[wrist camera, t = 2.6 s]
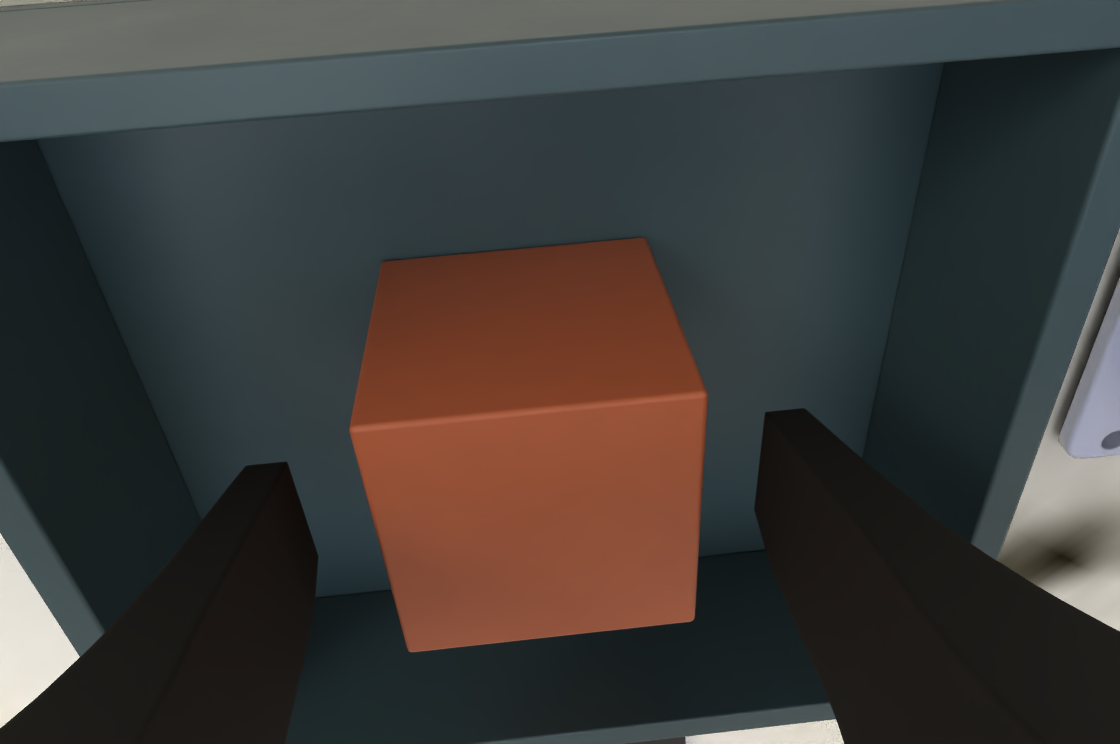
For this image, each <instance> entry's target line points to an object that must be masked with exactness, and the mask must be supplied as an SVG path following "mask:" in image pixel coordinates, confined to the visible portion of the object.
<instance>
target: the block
mask: <svg viewBox="0 0 1120 744" xmlns="http://www.w3.org/2000/svg"><path fill="white" fill-rule="evenodd" d="M707 404H708V393H707V390H706V388H705V385H704V383H703V380H702V378H701V375H700V373H699V370H698V368H697V365H696V362H695V360H694V357H693V355H692V352H691V350H690V347H689V345H688V342H687V340H686V337H685V335H684V332H683V330H682V327H681V325H680V322H679V319H678V317H677V314H676V312H675V309H674V307H673V304H672V302H671V299H670V297H669V294H668V292H667V289H666V287H665V284H664V282H663V279H662V276H661V274H660V271H659V269H658V266H657V264H656V261H655V259H654V256H653V254H652V251H651V249H650V246H649V244H648V241H647V239H646V238H632V239H621V240H610V241H599V242H588V243H577V244H567V245H556V246H545V247H534V248H523V249H512V250H501V251H490V252H479V253H468V254H458V255H447V256H436V257H425V258H414V259H403V260H392V261H384V262H382V263H381V267H380V272H379V277H378V282H377V288H376V293H375V298H374V303H373V308H372V314H371V319H370V324H369V329H368V334H367V340H366V345H365V350H364V355H363V360H362V365H361V371H360V376H359V381H358V386H357V391H356V397H355V402H354V407H353V412H352V417H351V422H350V428H349V432H350V436H351V439H352V443H353V447H354V451H355V454H356V458H357V462H358V466H359V469H360V473H361V477H362V481H363V485H364V488H365V492H366V496H367V500H368V503H369V507H370V511H371V515H372V518H373V522H374V526H375V530H376V533H377V537H378V541H379V545H380V549H381V552H382V556H383V560H384V564H385V567H386V571H387V575H388V579H389V582H390V586H391V590H392V594H393V597H394V601H395V605H396V609H397V613H398V616H399V620H400V624H401V628H402V631H403V635H404V639H405V643H406V646H407V649H408V651H409V652H420V651H429V650H438V649H447V648H456V647H465V646H474V645H483V644H492V643H501V642H511V641H520V640H529V639H538V638H547V637H556V636H565V635H574V634H583V633H592V632H601V631H610V630H619V629H628V628H637V627H646V626H655V625H664V624H674V623H683V622H691V621H693V620H694V618H695V607H696V590H697V573H698V556H699V539H700V523H701V506H702V489H703V472H704V455H705V438H706V421H707Z"/></svg>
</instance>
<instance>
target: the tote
mask: <svg viewBox="0 0 1120 744" xmlns="http://www.w3.org/2000/svg"><path fill="white" fill-rule="evenodd" d="M1119 228H1120V0H85V1H72V2H59V3H46V4H33V5H21V6H8V7H0V533H1V535H2V536H3V538H4V539H5V541H6V543H7V544H8V546H9V547H10V549H11V550H12V552H13V553H14V555H15V557H16V558H17V560H18V561H19V563H20V564H21V566H22V567H23V569H24V571H25V572H26V574H27V575H28V577H29V578H30V580H31V581H32V583H33V585H34V586H35V588H36V589H37V591H38V592H39V594H40V595H41V597H42V599H43V600H44V602H45V603H46V605H47V606H48V608H49V609H50V611H51V613H52V614H53V616H54V617H55V619H56V620H57V622H58V623H59V625H60V627H61V628H62V630H63V631H64V633H65V634H66V636H67V637H68V639H69V641H70V642H71V644H72V645H73V647H74V648H75V650H76V651H77V653H78V655H79V656H80V657H81V656H82V655H83V654H84V653H85V652H86V651H87V650H88V649H89V648H90V647H91V646H92V645H93V644H94V643H95V642H96V641H97V640H98V639H99V638H100V637H101V636H102V635H103V634H104V633H105V632H106V631H107V630H108V629H109V628H110V626H111V625H112V624H113V623H114V622H115V621H116V620H117V619H118V618H119V617H120V615H121V614H122V613H123V612H124V611H125V610H126V609H127V608H128V607H129V606H130V604H131V603H132V602H133V601H134V600H135V599H136V598H137V597H138V596H139V595H140V593H141V592H142V591H143V590H144V589H145V588H146V587H147V586H148V585H149V583H150V582H151V581H152V580H153V579H154V578H155V577H156V575H157V574H158V573H159V572H160V571H161V569H162V568H163V567H164V566H165V565H166V563H167V562H168V561H169V560H170V559H171V557H172V556H173V555H174V554H175V553H176V551H177V550H178V549H179V548H180V547H181V545H182V544H183V543H184V542H185V541H186V539H187V538H188V537H189V536H190V534H191V533H192V532H193V531H194V529H195V528H196V527H197V526H198V524H199V523H200V522H201V521H202V519H203V518H204V517H205V516H206V514H207V513H208V512H209V511H210V509H211V508H212V507H213V505H214V504H215V503H216V502H217V500H218V499H219V498H220V497H221V495H222V494H223V493H224V492H225V490H226V489H227V488H228V487H229V485H230V484H231V483H232V482H233V480H234V479H235V478H236V477H237V476H238V474H239V473H240V472H241V471H242V470H243V468H244V467H245V466H247V465H256V464H266V463H276V462H285V461H287V462H288V465H289V468H290V472H291V475H292V478H293V481H294V484H295V487H296V490H297V493H298V496H299V499H300V502H301V505H302V508H303V511H304V514H305V517H306V520H307V523H308V526H309V529H310V532H311V535H312V538H313V541H314V544H315V547H316V550H317V553H318V556H319V558H318V570H317V582H316V594H315V603H314V613H313V621H312V625H311V630H310V635H309V639H308V644H307V648H306V653H305V657H304V662H303V667H302V671H301V675H300V680H299V684H298V688H297V693H296V697H295V702H294V706H293V710H292V715H291V719H290V723H289V728H288V732H287V737H286V741H285V744H625V743H633V742H642V741H650V740H659V739H668V738H676V737H685V736H694V735H702V734H711V733H719V732H728V731H737V730H745V729H754V728H763V727H771V726H780V725H789V724H797V723H806V722H814V721H823V720H832V719H836V718H835V715H834V713H833V710H832V708H831V705H830V702H829V700H828V697H827V695H826V693H825V690H824V688H823V686H822V684H821V681H820V679H819V677H818V674H817V672H816V670H815V668H814V665H813V663H812V661H811V659H810V656H809V654H808V652H807V649H806V647H805V645H804V643H803V640H802V638H801V636H800V634H799V631H798V629H797V627H796V624H795V622H794V620H793V618H792V615H791V613H790V611H789V608H788V606H787V604H786V601H785V599H784V597H783V595H782V592H781V590H780V588H779V585H778V583H777V581H776V578H775V576H774V573H773V571H772V569H771V566H770V562H769V559H768V556H767V552H766V549H765V546H764V543H763V539H762V536H761V532H760V528H759V525H758V521H757V518H756V514H755V511H754V506H755V497H756V488H757V479H758V470H759V461H760V452H761V443H762V434H763V425H764V416H765V412H770V411H780V410H790V409H800V408H805V409H806V410H807V411H809V412H810V413H811V414H812V415H813V416H814V417H815V418H817V419H818V420H819V421H820V422H821V423H822V424H823V425H825V426H826V427H827V428H828V429H829V430H830V431H831V432H832V433H834V434H835V435H836V436H837V437H838V438H839V439H840V440H842V441H843V442H844V443H845V444H846V445H847V446H848V447H849V448H851V449H852V450H853V451H854V452H855V453H856V454H858V455H859V456H860V457H861V458H862V459H863V460H864V461H866V462H867V463H868V464H869V465H870V466H871V467H873V468H874V469H875V470H876V471H877V472H878V473H880V474H881V475H882V476H883V477H884V478H886V479H887V480H888V481H889V482H891V483H892V484H893V485H894V486H895V487H897V488H898V489H899V490H900V491H902V492H903V493H904V494H905V495H906V496H908V497H909V498H910V499H912V500H913V501H914V502H915V503H917V504H918V505H919V506H921V507H922V508H923V509H924V510H926V511H927V512H928V513H930V514H931V515H932V516H934V517H935V518H936V519H938V520H939V521H940V522H942V523H943V524H945V525H946V526H947V527H949V528H950V529H951V530H953V531H954V532H956V533H957V534H958V535H960V536H961V537H962V538H964V539H965V540H967V541H968V542H969V543H971V544H972V545H974V546H975V547H977V548H978V549H980V550H981V551H983V552H984V553H986V554H987V555H989V556H990V557H992V558H993V559H995V560H996V561H997V560H998V557H999V554H1000V552H1001V549H1002V546H1003V543H1004V541H1005V538H1006V535H1007V533H1008V530H1009V527H1010V524H1011V522H1012V519H1013V516H1014V514H1015V511H1016V508H1017V505H1018V503H1019V500H1020V497H1021V495H1022V492H1023V489H1024V486H1025V484H1026V481H1027V478H1028V475H1029V473H1030V470H1031V467H1032V465H1033V462H1034V459H1035V456H1036V454H1037V451H1038V448H1039V446H1040V443H1041V440H1042V437H1043V435H1044V432H1045V429H1046V427H1047V424H1048V421H1049V418H1050V416H1051V413H1052V410H1053V408H1054V405H1055V402H1056V399H1057V397H1058V394H1059V391H1060V388H1061V386H1062V383H1063V380H1064V378H1065V375H1066V372H1067V369H1068V367H1069V364H1070V361H1071V359H1072V356H1073V353H1074V350H1075V348H1076V345H1077V342H1078V340H1079V337H1080V334H1081V331H1082V329H1083V326H1084V323H1085V321H1086V318H1087V315H1088V312H1089V310H1090V307H1091V304H1092V301H1093V299H1094V296H1095V293H1096V291H1097V288H1098V285H1099V282H1100V280H1101V277H1102V274H1103V272H1104V269H1105V266H1106V263H1107V261H1108V258H1109V255H1110V253H1111V250H1112V247H1113V244H1114V242H1115V239H1116V236H1117V234H1118V231H1119ZM632 238H646V239H647V241H648V244H649V246H650V249H651V251H652V254H653V256H654V259H655V261H656V264H657V266H658V269H659V271H660V274H661V276H662V279H663V282H664V284H665V287H666V289H667V292H668V294H669V297H670V299H671V302H672V304H673V307H674V309H675V312H676V314H677V317H678V319H679V322H680V325H681V327H682V330H683V332H684V335H685V337H686V340H687V342H688V345H689V347H690V350H691V352H692V355H693V357H694V360H695V362H696V365H697V368H698V370H699V373H700V375H701V378H702V380H703V383H704V385H705V388H706V390H707V393H708V404H707V421H706V438H705V455H704V472H703V489H702V506H701V523H700V539H699V556H698V573H697V590H696V607H695V618H694V620H693V621H691V622H683V623H674V624H664V625H655V626H646V627H637V628H628V629H619V630H610V631H601V632H592V633H583V634H574V635H565V636H556V637H547V638H538V639H529V640H520V641H511V642H501V643H492V644H483V645H474V646H465V647H456V648H447V649H438V650H429V651H420V652H409V651H408V649H407V646H406V643H405V639H404V635H403V631H402V628H401V624H400V620H399V616H398V613H397V609H396V605H395V601H394V597H393V594H392V590H391V586H390V582H389V579H388V575H387V571H386V567H385V564H384V560H383V556H382V552H381V549H380V545H379V541H378V537H377V533H376V530H375V526H374V522H373V518H372V515H371V511H370V507H369V503H368V500H367V496H366V492H365V488H364V485H363V481H362V477H361V473H360V469H359V466H358V462H357V458H356V454H355V451H354V447H353V443H352V439H351V436H350V432H349V428H350V422H351V417H352V412H353V407H354V402H355V397H356V391H357V386H358V381H359V376H360V371H361V365H362V360H363V355H364V350H365V345H366V340H367V334H368V329H369V324H370V319H371V314H372V308H373V303H374V298H375V293H376V288H377V282H378V277H379V272H380V267H381V263H382V262H384V261H392V260H403V259H414V258H425V257H436V256H447V255H458V254H468V253H479V252H490V251H501V250H512V249H523V248H534V247H545V246H556V245H567V244H577V243H588V242H599V241H610V240H621V239H632Z"/></svg>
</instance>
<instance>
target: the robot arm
mask: <svg viewBox="0 0 1120 744" xmlns="http://www.w3.org/2000/svg"><path fill="white" fill-rule="evenodd" d="M1059 443H1060V445H1061V446H1062V448H1063V449H1064V450H1065V451H1066V452H1067V453H1068V454H1069V455H1070V456H1072V457H1074V458H1092V457H1102V456H1112V455H1120V278H1119V281H1118V283H1117V286H1116V289H1115V291H1114V294H1113V296H1112V299H1111V302H1110V304H1109V307H1108V309H1107V312H1106V315H1105V317H1104V320H1103V323H1102V325H1101V328H1100V330H1099V333H1098V336H1097V338H1096V341H1095V343H1094V346H1093V349H1092V351H1091V354H1090V357H1089V359H1088V362H1087V364H1086V367H1085V370H1084V372H1083V375H1082V377H1081V380H1080V383H1079V385H1078V388H1077V391H1076V393H1075V396H1074V398H1073V401H1072V404H1071V406H1070V409H1069V411H1068V414H1067V417H1066V419H1065V422H1064V424H1063V427H1062V430H1061V432H1060V436H1059ZM754 511H755V514H756V518H757V521H758V525H759V528H760V532H761V536H762V539H763V543H764V546H765V549H766V552H767V556H768V559H769V562H770V566H771V569H772V571H773V573H774V576H775V578H776V581H777V583H778V585H779V588H780V590H781V592H782V595H783V597H784V599H785V601H786V604H787V606H788V608H789V611H790V613H791V615H792V618H793V620H794V622H795V624H796V627H797V629H798V631H799V634H800V636H801V638H802V640H803V643H804V645H805V647H806V649H807V652H808V654H809V656H810V659H811V661H812V663H813V665H814V668H815V670H816V672H817V674H818V677H819V679H820V681H821V684H822V686H823V688H824V690H825V693H826V695H827V697H828V700H829V702H830V705H831V708H832V710H833V713H834V715H835V718H836V720H837V723H838V725H839V728H840V731H841V735H842V738H843V741H844V744H1120V631H1118V630H1116V629H1114V628H1112V627H1110V626H1108V625H1106V624H1104V623H1102V622H1101V621H1099V620H1097V619H1095V618H1093V617H1091V616H1090V615H1088V614H1086V613H1084V612H1082V611H1080V610H1079V609H1077V608H1075V607H1073V606H1071V605H1069V604H1067V603H1066V602H1064V601H1062V600H1060V599H1058V598H1057V597H1055V596H1053V595H1052V594H1050V593H1048V592H1046V591H1045V590H1043V589H1041V588H1040V587H1038V586H1036V585H1035V584H1033V583H1031V582H1030V581H1028V580H1026V579H1025V578H1023V577H1022V576H1020V575H1019V574H1017V573H1015V572H1014V571H1012V570H1011V569H1009V568H1008V567H1006V566H1004V565H1003V564H1001V563H1000V562H998V561H996V560H995V559H993V558H992V557H990V556H989V555H987V554H986V553H984V552H983V551H981V550H980V549H978V548H977V547H975V546H974V545H972V544H971V543H969V542H968V541H967V540H965V539H964V538H962V537H961V536H960V535H958V534H957V533H956V532H954V531H953V530H951V529H950V528H949V527H947V526H946V525H945V524H943V523H942V522H940V521H939V520H938V519H936V518H935V517H934V516H932V515H931V514H930V513H928V512H927V511H926V510H924V509H923V508H922V507H921V506H919V505H918V504H917V503H915V502H914V501H913V500H912V499H910V498H909V497H908V496H906V495H905V494H904V493H903V492H902V491H900V490H899V489H898V488H897V487H895V486H894V485H893V484H892V483H891V482H889V481H888V480H887V479H886V478H884V477H883V476H882V475H881V474H880V473H878V472H877V471H876V470H875V469H874V468H873V467H871V466H870V465H869V464H868V463H867V462H866V461H864V460H863V459H862V458H861V457H860V456H859V455H858V454H856V453H855V452H854V451H853V450H852V449H851V448H849V447H848V446H847V445H846V444H845V443H844V442H843V441H842V440H840V439H839V438H838V437H837V436H836V435H835V434H834V433H832V432H831V431H830V430H829V429H828V428H827V427H826V426H825V425H823V424H822V423H821V422H820V421H819V420H818V419H817V418H815V417H814V416H813V415H812V414H811V413H810V412H809V411H807V410H806V409H805V408H800V409H790V410H780V411H770V412H765V416H764V425H763V434H762V443H761V452H760V461H759V470H758V479H757V488H756V497H755V506H754ZM318 558H319V556H318V553H317V550H316V547H315V544H314V541H313V538H312V535H311V532H310V529H309V526H308V523H307V520H306V517H305V514H304V511H303V508H302V505H301V502H300V499H299V496H298V493H297V490H296V487H295V484H294V481H293V478H292V475H291V472H290V468H289V465H288V462H287V461H285V462H276V463H266V464H256V465H247V466H245V467H244V468H243V470H242V471H241V472H240V473H239V474H238V476H237V477H236V478H235V479H234V480H233V482H232V483H231V484H230V485H229V487H228V488H227V489H226V490H225V492H224V493H223V494H222V495H221V497H220V498H219V499H218V500H217V502H216V503H215V504H214V505H213V507H212V508H211V509H210V511H209V512H208V513H207V514H206V516H205V517H204V518H203V519H202V521H201V522H200V523H199V524H198V526H197V527H196V528H195V529H194V531H193V532H192V533H191V534H190V536H189V537H188V538H187V539H186V541H185V542H184V543H183V544H182V545H181V547H180V548H179V549H178V550H177V551H176V553H175V554H174V555H173V556H172V557H171V559H170V560H169V561H168V562H167V563H166V565H165V566H164V567H163V568H162V569H161V571H160V572H159V573H158V574H157V575H156V577H155V578H154V579H153V580H152V581H151V582H150V583H149V585H148V586H147V587H146V588H145V589H144V590H143V591H142V592H141V593H140V595H139V596H138V597H137V598H136V599H135V600H134V601H133V602H132V603H131V604H130V606H129V607H128V608H127V609H126V610H125V611H124V612H123V613H122V614H121V615H120V617H119V618H118V619H117V620H116V621H115V622H114V623H113V624H112V625H111V626H110V628H109V629H108V630H107V631H106V632H105V633H104V634H103V635H102V636H101V637H100V638H99V639H98V640H97V641H96V642H95V643H94V644H93V645H92V646H91V647H90V648H89V649H88V650H87V651H86V652H85V653H84V654H83V655H82V656H81V657H80V658H79V659H78V660H77V661H76V662H75V663H74V664H72V665H71V666H70V667H69V668H68V669H67V670H66V671H65V672H64V673H63V674H62V675H61V676H60V677H59V678H58V679H57V680H55V681H54V682H53V683H52V684H51V685H50V686H49V687H48V688H47V689H46V690H45V691H44V692H42V693H41V694H40V695H39V696H38V697H37V698H36V699H35V700H34V701H32V702H31V703H30V704H29V705H28V706H26V707H25V708H24V709H23V710H22V711H21V712H19V713H18V714H17V715H16V716H15V717H13V718H12V719H11V720H10V721H9V722H7V723H6V724H5V725H4V726H3V727H1V728H0V744H285V741H286V737H287V732H288V728H289V723H290V719H291V715H292V710H293V706H294V702H295V697H296V693H297V688H298V684H299V680H300V675H301V671H302V667H303V662H304V657H305V653H306V648H307V644H308V639H309V635H310V630H311V625H312V621H313V613H314V603H315V594H316V582H317V570H318Z"/></svg>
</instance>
